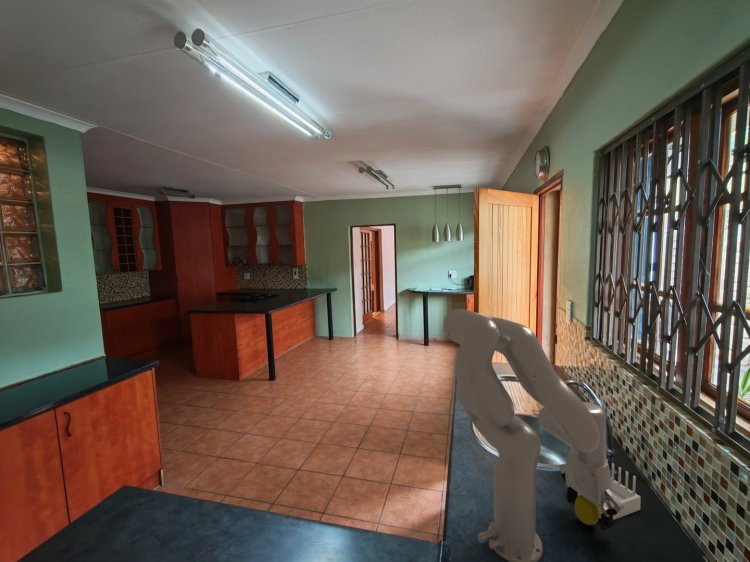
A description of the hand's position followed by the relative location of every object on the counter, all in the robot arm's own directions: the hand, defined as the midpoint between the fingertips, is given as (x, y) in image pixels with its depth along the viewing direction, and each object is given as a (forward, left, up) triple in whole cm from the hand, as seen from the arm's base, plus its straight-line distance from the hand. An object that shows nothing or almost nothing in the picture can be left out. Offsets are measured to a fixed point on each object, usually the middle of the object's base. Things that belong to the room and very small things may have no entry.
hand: (588, 513), depth 88 cm
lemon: (-1, 0, -3) cm, 3 cm away
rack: (+11, +4, -3) cm, 12 cm away
